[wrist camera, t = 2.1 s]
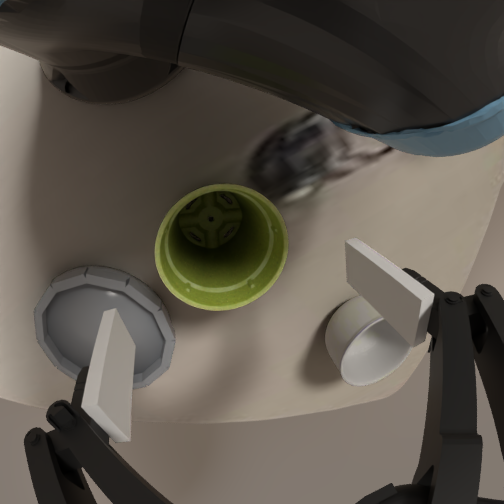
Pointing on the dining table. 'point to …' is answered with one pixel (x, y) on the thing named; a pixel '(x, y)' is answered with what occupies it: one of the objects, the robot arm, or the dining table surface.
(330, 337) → the teacup
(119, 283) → the saucer
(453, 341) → the robot arm
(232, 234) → the plant pot
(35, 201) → the dining table surface
